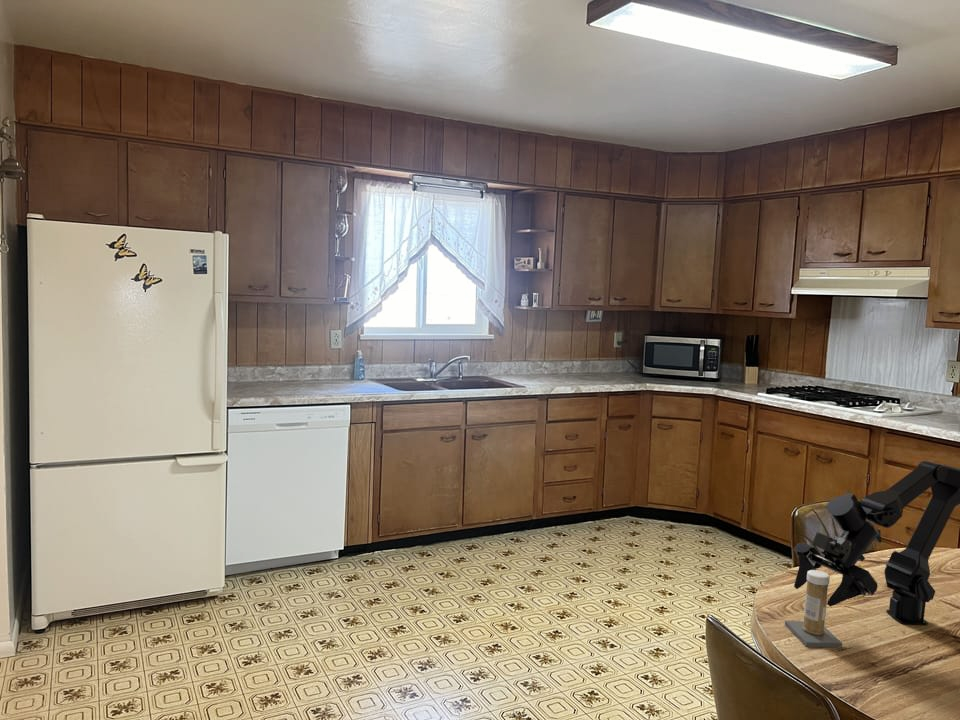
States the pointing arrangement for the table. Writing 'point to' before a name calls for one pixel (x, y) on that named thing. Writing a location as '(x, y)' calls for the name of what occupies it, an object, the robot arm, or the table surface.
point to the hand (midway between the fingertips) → (811, 596)
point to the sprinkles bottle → (815, 602)
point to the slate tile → (812, 636)
